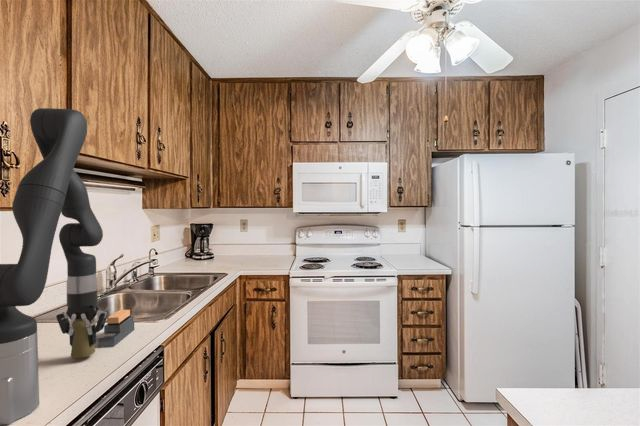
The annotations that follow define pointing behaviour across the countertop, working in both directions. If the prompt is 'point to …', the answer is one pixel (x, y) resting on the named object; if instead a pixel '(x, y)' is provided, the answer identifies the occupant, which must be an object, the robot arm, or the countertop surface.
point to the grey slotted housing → (116, 332)
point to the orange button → (118, 316)
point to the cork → (81, 340)
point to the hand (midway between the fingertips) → (83, 345)
